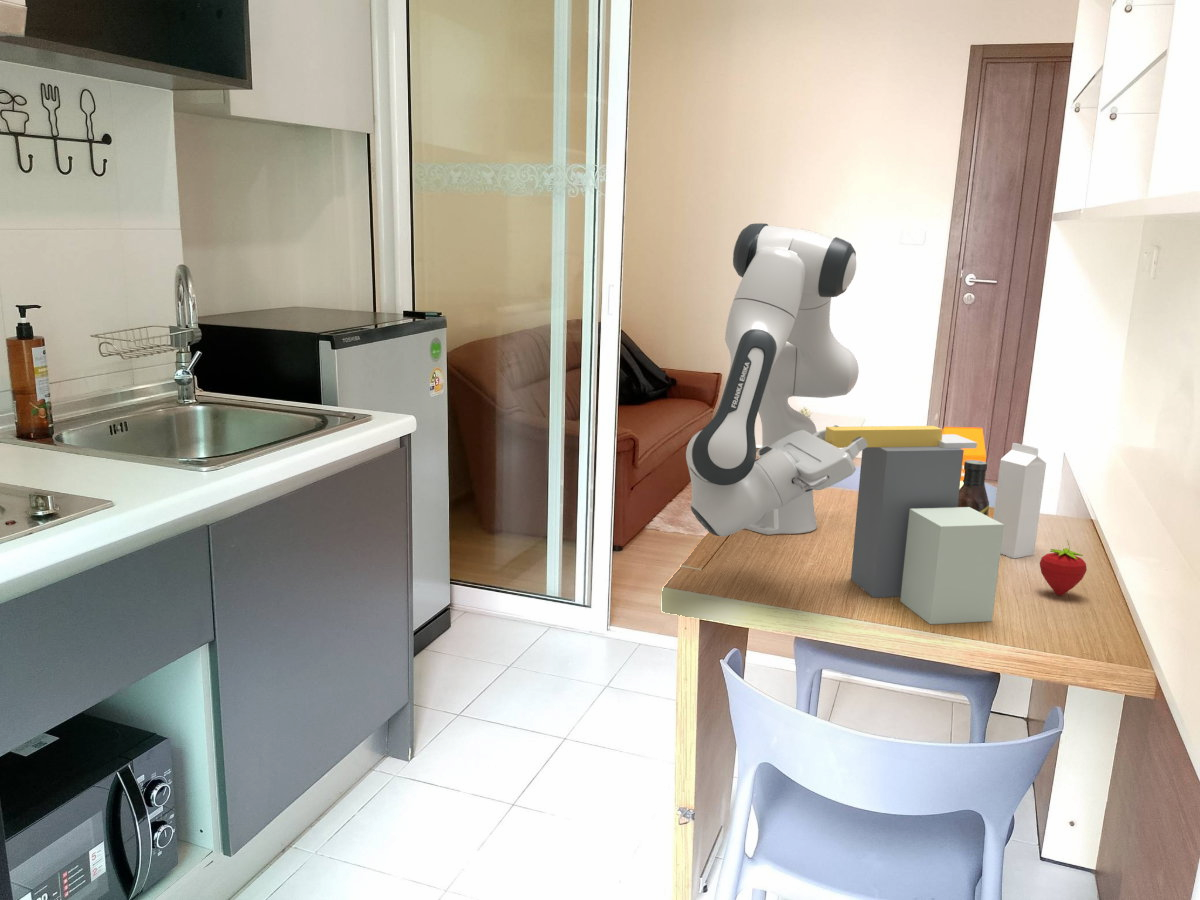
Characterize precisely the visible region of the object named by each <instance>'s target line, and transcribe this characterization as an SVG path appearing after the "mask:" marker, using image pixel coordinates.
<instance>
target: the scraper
mask: <svg viewBox="0 0 1200 900" xmlns="http://www.w3.org/2000/svg"><path fill="white" fill-rule="evenodd" d="M943 429H944V428H940V427H938V426H935V425H887V426H886V425H885V426H882V425H880V426H873V425H872V426H871V425H869V426H868V425H867V426H839V427H833V426H825V430H826V434H825V441H826V442H828V443H830V444H832V445H833V446H835V447H837V448H839V449H842V448H844V447H848V446H849V445H850V444H851V443H852V440H854V439H856V438H857V437H863V438H865V439H866V442H867V444H868V446H867V447H928V446H939V447H941V448H944V449H971V448H977V442H974V441H972V440H969V439H966V438H964V437H961V436H958V435H956V434H942V433H943Z"/></svg>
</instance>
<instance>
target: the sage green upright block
mask: <svg viewBox="0 0 1200 900" xmlns="http://www.w3.org/2000/svg"><path fill="white" fill-rule="evenodd" d="M1003 530H1004V524H1002V523H1000V522H998V521H996V520H994V519H993V518H992V517H991V516H989V515H988V516H986V515H984V514H982V513H980V512H978V511H976V510H974V509H972V508H970V507H954V508H918V509H910V511H909V521H908V530H907V540H906V550H905V559H904V569H903V579H902V589H901V597H900V599H899V600H900V601H899V602H900V603H902V604H903V605H904V606H906V607H907V608H908V609H910V610H911V611H912V612H913V613H915V614H916V615H918V616H919V617H920V618H921V619H922V620H924V621H925V622H926V623H928V624H929V625H944V624H945V625H947V624H963V623H966V624H967V623H981V622H982V623H983V622H993V618H994V617H993V615H994V608H995V602H996V600H995V599H996V593H997V592H996V591H997V586H998V585H997V584H998V576H999V568H1000V561H1001V560H1000V559H1001V555H1002V554H1001V546H1002V538H1003Z"/></svg>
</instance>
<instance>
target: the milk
mask: <svg viewBox="0 0 1200 900" xmlns="http://www.w3.org/2000/svg"><path fill="white" fill-rule="evenodd" d="M1046 468H1047V462H1045V460H1043V459H1042V458H1040V456H1039V448H1038V447H1033V446H1029V445H1026V444H1022V443H1021V444H1020V443H1016V442H1013V443H1012V445H1011V450H1009V451H1008V452H1007V453H1006V454H1005V455H1003V457H1001V459H1000V462H999V470H998V475H997V478H998V479H997V486H996V494H995V501H994V509H993V516H992V517H993V518H992V519H994V520H996V521H998V522H1000V523H1002V524H1004V530H1003V538H1002V546H1001V554H1000V555H1002V554H1003V556H1005V555H1006V557H1009V558H1010V559H1019V558H1024V557H1029V556H1033V555H1035V549H1036V542H1037V535H1038V528H1039V527H1038V526H1039V522H1040V521H1039V520H1040V514H1041V513H1040V512H1041V511H1040V510H1041V505H1042V497H1043V492H1044V491H1043V490H1044V483H1045V477H1046V476H1045V475H1046V470H1047V469H1046Z"/></svg>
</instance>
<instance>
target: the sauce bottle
mask: <svg viewBox="0 0 1200 900" xmlns="http://www.w3.org/2000/svg"><path fill="white" fill-rule="evenodd" d="M964 470H965V473H964V480H963V483H964V484H963V486H962V487H961V488H960V489H959V498H958V507H970V508H972V509H974V510H976V511H978V512H980V513H982V514H984V515H986V516H988V517H989V509H990V501H989V498H988V494H987V490H986V486H985V485H986V484H985V479H986V471H987V470H988V463H987V461H986V462H984V461H979V460H966V461H965V463H964Z"/></svg>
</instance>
